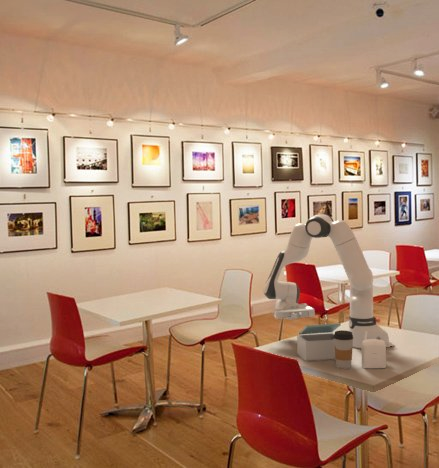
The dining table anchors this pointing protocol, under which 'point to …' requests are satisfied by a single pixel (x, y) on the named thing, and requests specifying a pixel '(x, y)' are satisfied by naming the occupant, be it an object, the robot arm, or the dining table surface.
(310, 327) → the cover
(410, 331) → the dining table surface
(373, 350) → the photo printer
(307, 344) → the white box
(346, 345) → the coffee cup
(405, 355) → the dining table surface
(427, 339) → the dining table surface
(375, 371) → the dining table surface
